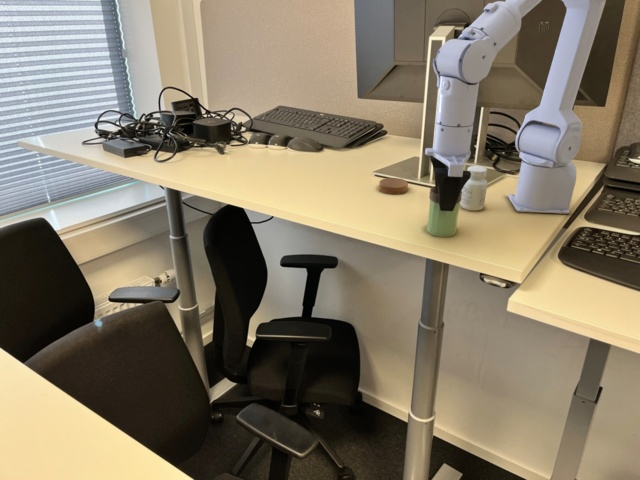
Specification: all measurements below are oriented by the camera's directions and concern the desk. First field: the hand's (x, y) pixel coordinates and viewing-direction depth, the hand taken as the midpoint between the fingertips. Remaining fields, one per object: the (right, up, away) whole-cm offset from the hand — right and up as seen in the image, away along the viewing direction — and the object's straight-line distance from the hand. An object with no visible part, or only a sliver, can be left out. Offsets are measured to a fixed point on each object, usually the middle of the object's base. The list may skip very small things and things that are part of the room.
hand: (444, 203), depth 79 cm
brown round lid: (0, +1, 0) cm, 1 cm away
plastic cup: (0, -5, +2) cm, 5 cm away
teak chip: (-6, +5, +20) cm, 22 cm away
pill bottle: (+8, 0, +12) cm, 14 cm away
